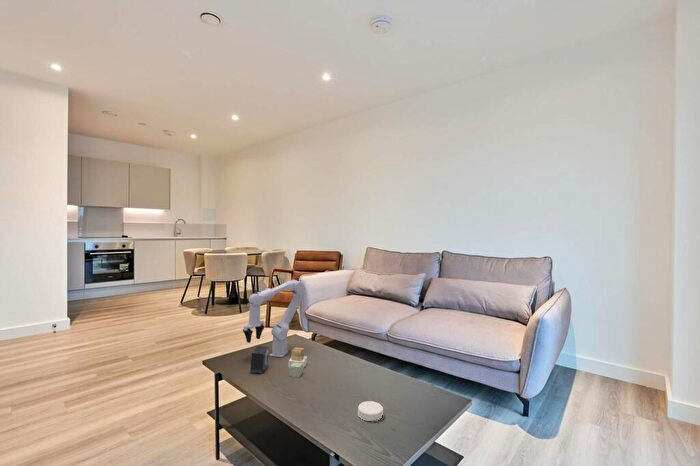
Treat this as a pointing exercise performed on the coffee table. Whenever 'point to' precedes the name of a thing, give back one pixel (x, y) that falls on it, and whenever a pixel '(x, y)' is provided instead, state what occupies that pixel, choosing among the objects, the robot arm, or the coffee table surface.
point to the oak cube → (297, 354)
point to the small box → (259, 359)
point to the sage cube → (296, 369)
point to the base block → (298, 362)
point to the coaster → (370, 410)
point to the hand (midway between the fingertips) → (253, 340)
